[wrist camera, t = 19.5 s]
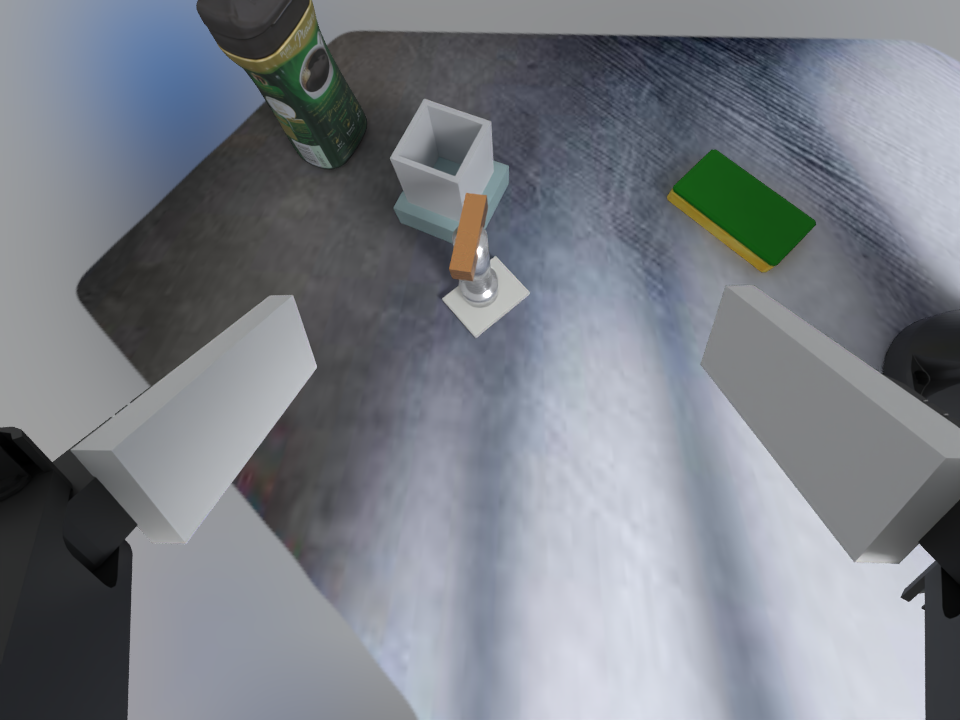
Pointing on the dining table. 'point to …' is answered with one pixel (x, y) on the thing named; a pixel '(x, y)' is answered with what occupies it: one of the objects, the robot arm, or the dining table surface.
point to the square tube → (445, 168)
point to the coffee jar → (291, 73)
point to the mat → (487, 316)
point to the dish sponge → (740, 211)
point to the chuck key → (473, 254)
